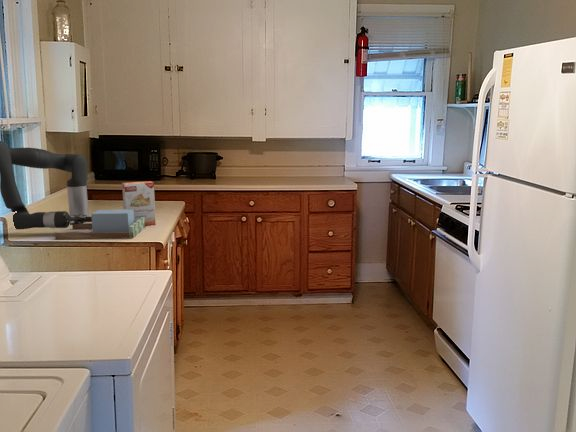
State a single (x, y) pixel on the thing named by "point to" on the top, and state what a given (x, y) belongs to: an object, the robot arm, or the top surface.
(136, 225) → the tray
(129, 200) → the cracker box
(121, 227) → the slate block
